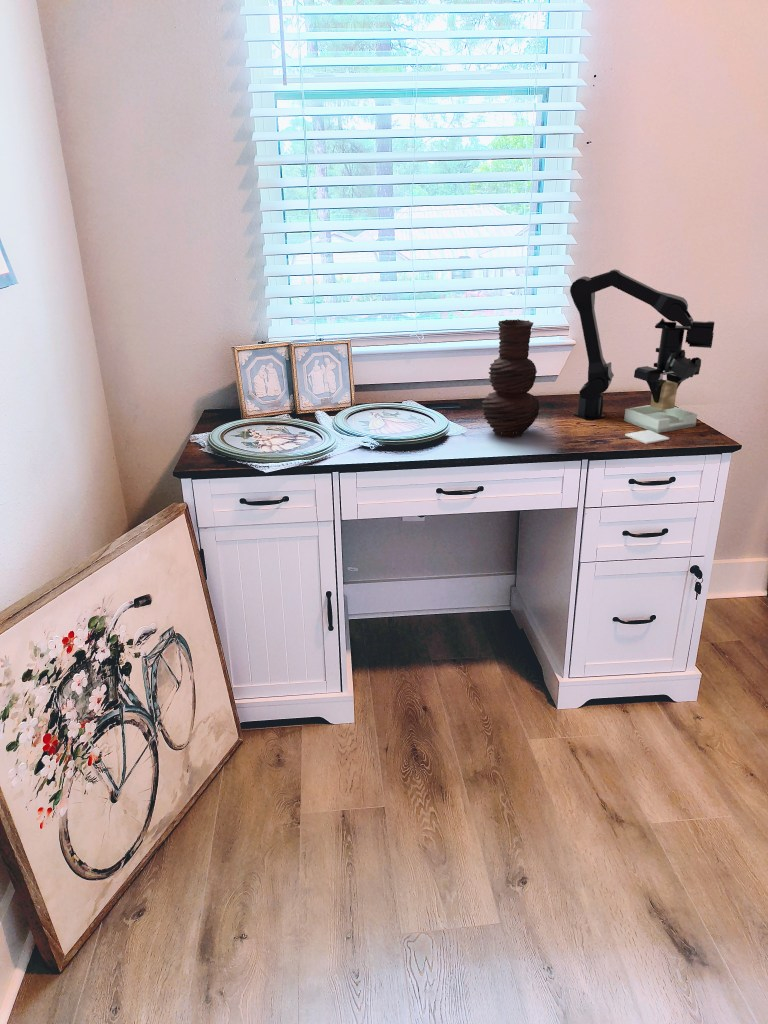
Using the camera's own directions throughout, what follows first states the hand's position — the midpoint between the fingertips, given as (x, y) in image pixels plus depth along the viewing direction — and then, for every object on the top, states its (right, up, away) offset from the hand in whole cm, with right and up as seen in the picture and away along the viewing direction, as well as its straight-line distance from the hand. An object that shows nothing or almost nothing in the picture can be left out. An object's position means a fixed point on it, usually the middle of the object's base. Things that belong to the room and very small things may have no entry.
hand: (662, 401), depth 211 cm
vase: (-44, -10, -5) cm, 45 cm away
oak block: (0, -1, +1) cm, 2 cm away
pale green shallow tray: (0, -6, +3) cm, 6 cm away
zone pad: (-7, -11, -9) cm, 16 cm away
